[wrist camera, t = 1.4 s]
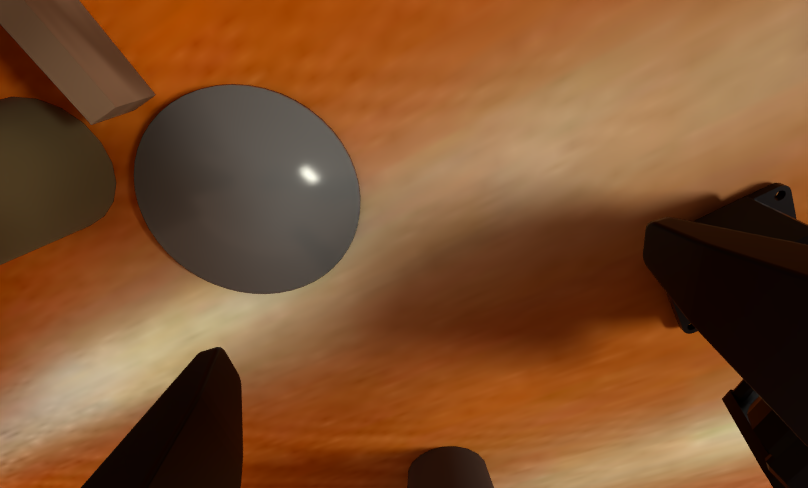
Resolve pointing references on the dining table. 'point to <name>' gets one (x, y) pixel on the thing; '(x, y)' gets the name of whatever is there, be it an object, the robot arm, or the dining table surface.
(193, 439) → the robot arm
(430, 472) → the coffee cup
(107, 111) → the rack
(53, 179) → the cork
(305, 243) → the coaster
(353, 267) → the dining table surface
